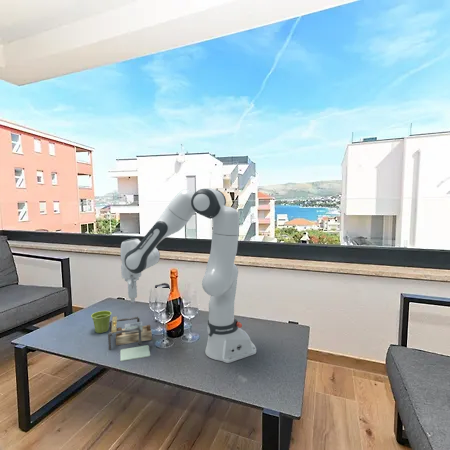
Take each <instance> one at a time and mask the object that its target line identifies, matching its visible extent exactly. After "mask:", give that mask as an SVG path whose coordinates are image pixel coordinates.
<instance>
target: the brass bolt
mask: <svg viewBox="0 0 450 450" xmlns="http://www.w3.org/2000/svg"><path fill="white" fill-rule="evenodd" d="M117 319H118V315H116V316H112V333H113V332H116V331H117V328H118V326H117V325H118V322H117Z"/></svg>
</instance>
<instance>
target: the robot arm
mask: <svg viewBox="0 0 450 450" xmlns="http://www.w3.org/2000/svg"><path fill="white" fill-rule="evenodd" d="M195 213H197V214H198V215H201V216H203V217H205V218H207V219H210V220H211V219H212V222H213V223H212V233H211V234H212V235H211V246H210V252H209V255H208V256H209V257H208V260H207V264H206V269H205V271H204V272H205V273H204V275H203V278H202V282H201V285H202V289H203V291H204V292H205V293H206V294H207V295H208V296H210V298H209V301H208V320H207V334H208V338H207V343H206V347H205V351H204V353H205V355H206V356H207V357H208V358H210V359H212V360H215V361H219V362H220V361H221V362H224V363H226V364H231V363H233V362H236V361H239V360H241V359H245V358H249V357H250V356H253V355H256V354H257V347H256V345H255V344H254V342H252V341H251V337H250V335H249V334H248V333H247V332H246V331H245V330H244V329H242V327H243V324H242V323H241V322H240V321H238V319H236V318H235V300H236V293H237V292H236V291H237V285H238V277H239V268H238V266H237V265H236V264H235V260H236V255H237V252H238V247H239V233H240V217H239V216H240V215H239V211H237V209H236V208H234V207H232V206H227V199H226V196H225V194H224V193H223V192H222V191H221V190H218V189H214V188H200V189H198V190H197V191H195V192H194V191H193V190H191V189H182V190H181V191H179V192H178V193H177V195H175V196H174V197H173V198H172V200H170V202H169V203H168V205H167V206H166V208H165V209H164V211H163V212H162V214H161V215H160V216H159V217H158V219H157V221H155V223H154V224H153V226H152V227H151V228H150V229H149V230H148V232H146V233H145V235H144V237H143V238H142V239H141V240H140V239H139V238H135V237H134V238H130V239H125V240H123V241H122V242H121V244H120V261H121V266H120V269H121V270H120V271H121V278H122V279H124V282H127V297H128V299H130V303H135V301H136V298H137V297H138V292H137V291H138V289H137V287H138V285H137V281H139V279H140V277H142V272H143V271H145V270H146V269H149V268H152V267H153V266H155V265H157V264H158V263H159V261H160V258H161V254H160V251H159V249H158V248H157V246H158V245H159V244H160V243H161V242H162V241H163V240H164V239H166V238H167V237H169V236H171V235H174V234H175V233H179V231H181V230H182V229H183V228H184V227H185V226H186V225H187V224H188V222H189V221H190V220H191V218H192V216H194V214H195Z"/></svg>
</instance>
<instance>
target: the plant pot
mask: <svg viewBox="0 0 450 450" xmlns="http://www.w3.org/2000/svg"><path fill="white" fill-rule="evenodd" d="M111 315H112V312H111V311H110V310H101V311H100V310H99V311H96V312H93V313H92V314H91V315H90V318H92V321H93V326H94V331H95V333H97V334H102V333H106V332H108V331H109V330H110V327H109V322H110V319H111Z"/></svg>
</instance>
